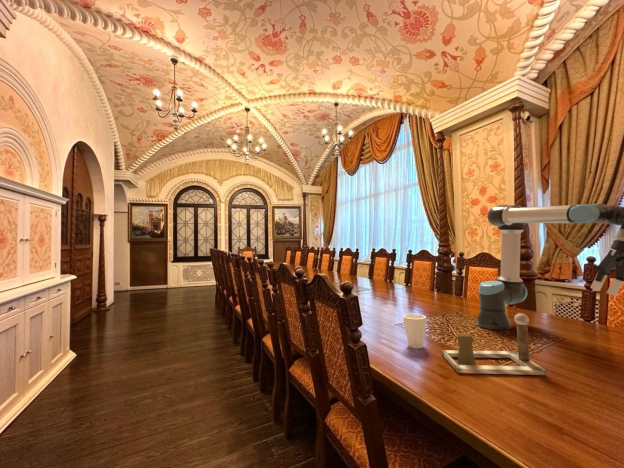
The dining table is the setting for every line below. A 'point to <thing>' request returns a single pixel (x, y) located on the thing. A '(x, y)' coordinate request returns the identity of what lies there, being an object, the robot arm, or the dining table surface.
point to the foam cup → (415, 329)
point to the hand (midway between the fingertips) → (603, 292)
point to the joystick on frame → (503, 356)
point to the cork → (465, 350)
